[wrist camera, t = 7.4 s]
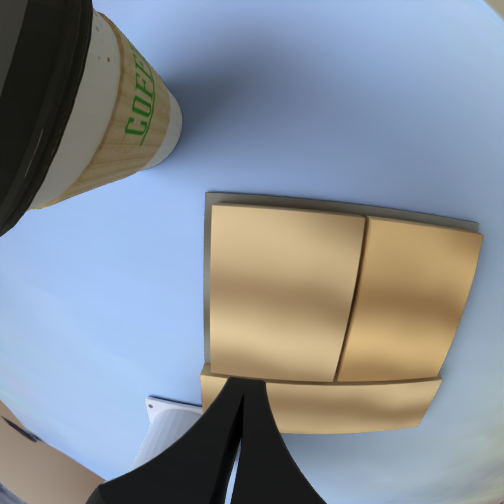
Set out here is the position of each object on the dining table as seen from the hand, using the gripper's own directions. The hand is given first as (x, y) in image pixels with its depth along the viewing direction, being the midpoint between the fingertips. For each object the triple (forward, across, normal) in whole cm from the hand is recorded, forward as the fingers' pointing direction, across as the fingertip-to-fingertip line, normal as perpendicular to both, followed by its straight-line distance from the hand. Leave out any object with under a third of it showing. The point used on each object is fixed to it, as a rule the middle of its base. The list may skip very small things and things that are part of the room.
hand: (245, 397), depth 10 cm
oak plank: (+10, -11, 0) cm, 15 cm away
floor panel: (+10, -6, +3) cm, 12 cm away
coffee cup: (+11, +9, -11) cm, 18 cm away
